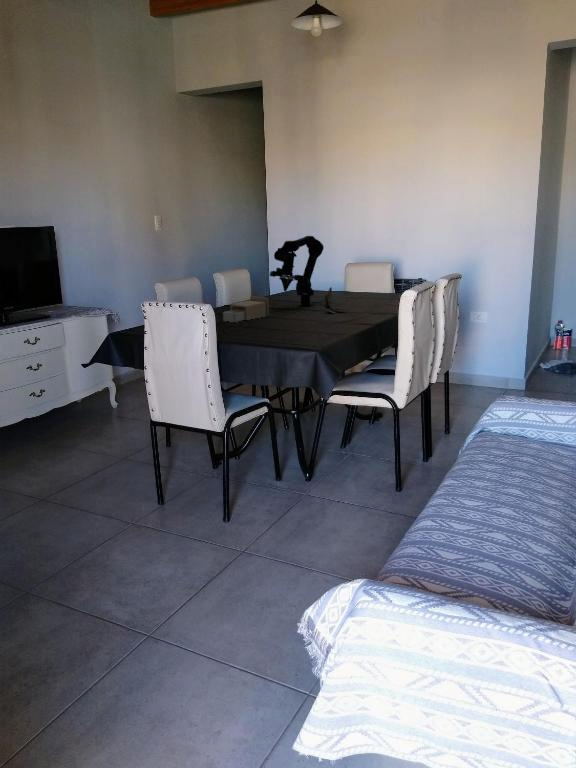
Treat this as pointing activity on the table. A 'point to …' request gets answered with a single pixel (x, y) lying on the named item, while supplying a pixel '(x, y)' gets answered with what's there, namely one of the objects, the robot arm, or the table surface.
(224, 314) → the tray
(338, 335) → the table surface
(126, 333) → the table surface
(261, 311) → the sleeve
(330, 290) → the butterfly
